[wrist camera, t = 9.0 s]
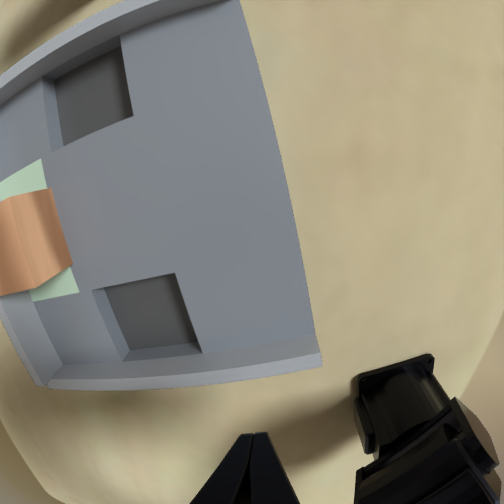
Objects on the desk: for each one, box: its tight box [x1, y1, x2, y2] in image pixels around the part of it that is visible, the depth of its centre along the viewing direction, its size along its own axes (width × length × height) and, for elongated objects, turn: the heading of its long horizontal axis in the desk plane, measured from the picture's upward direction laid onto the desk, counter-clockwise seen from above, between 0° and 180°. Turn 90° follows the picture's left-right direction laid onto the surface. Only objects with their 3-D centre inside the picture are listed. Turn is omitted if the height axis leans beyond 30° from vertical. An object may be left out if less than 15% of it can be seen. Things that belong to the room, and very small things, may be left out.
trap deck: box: [0, 0, 322, 391], centre depth 16 cm, size 20×22×5 cm
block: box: [0, 188, 73, 296], centre depth 15 cm, size 5×5×4 cm
